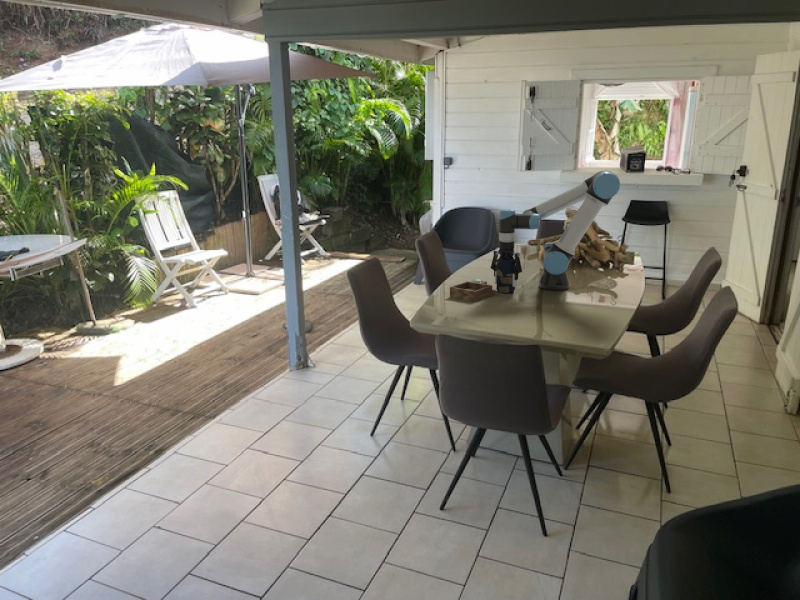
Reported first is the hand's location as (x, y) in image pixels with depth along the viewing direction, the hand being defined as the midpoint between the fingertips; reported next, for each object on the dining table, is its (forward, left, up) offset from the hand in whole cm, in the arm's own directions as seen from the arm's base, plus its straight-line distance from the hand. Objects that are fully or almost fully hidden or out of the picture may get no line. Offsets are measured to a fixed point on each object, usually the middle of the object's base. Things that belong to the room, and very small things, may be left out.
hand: (505, 284), depth 308 cm
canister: (0, 0, -4) cm, 4 cm away
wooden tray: (+9, +16, -4) cm, 19 cm away
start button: (+15, +3, -3) cm, 16 cm away
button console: (+15, +3, -4) cm, 16 cm away
